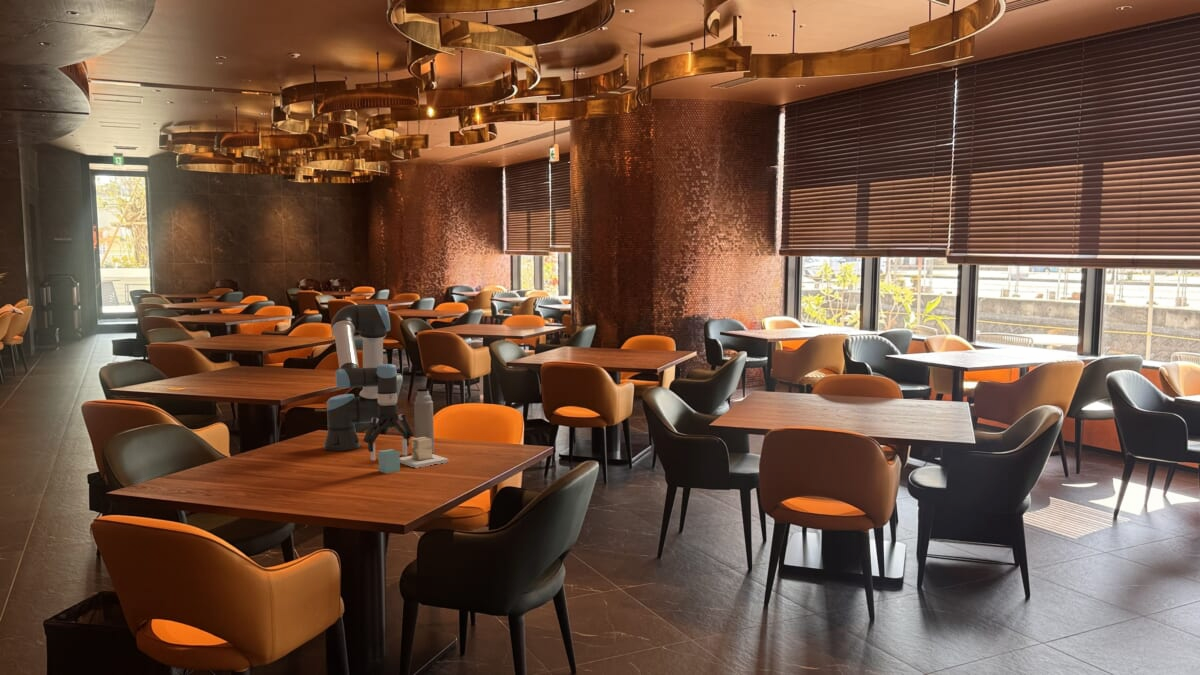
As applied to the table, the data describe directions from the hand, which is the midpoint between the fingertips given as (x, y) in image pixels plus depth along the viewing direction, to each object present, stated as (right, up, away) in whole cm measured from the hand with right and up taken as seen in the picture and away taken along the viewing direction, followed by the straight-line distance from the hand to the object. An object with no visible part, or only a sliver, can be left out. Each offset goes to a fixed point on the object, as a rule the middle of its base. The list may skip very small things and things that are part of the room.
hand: (389, 457), depth 353 cm
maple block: (+10, -2, +16) cm, 19 cm away
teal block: (0, -6, +1) cm, 6 cm away
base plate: (+10, -4, +16) cm, 19 cm away
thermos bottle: (+7, -3, +33) cm, 34 cm away
